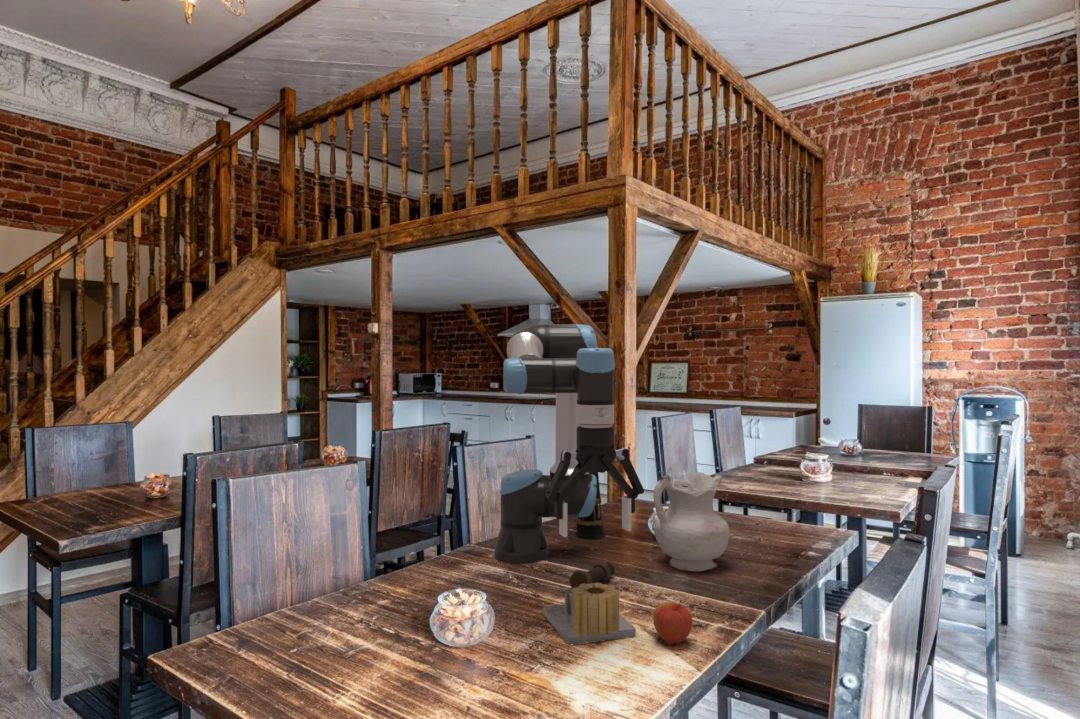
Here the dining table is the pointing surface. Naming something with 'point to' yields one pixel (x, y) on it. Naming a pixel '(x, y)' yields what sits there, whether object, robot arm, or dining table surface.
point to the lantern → (591, 520)
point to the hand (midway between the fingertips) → (595, 532)
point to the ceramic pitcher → (690, 522)
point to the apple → (672, 622)
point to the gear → (595, 609)
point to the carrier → (563, 624)
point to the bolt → (592, 575)
